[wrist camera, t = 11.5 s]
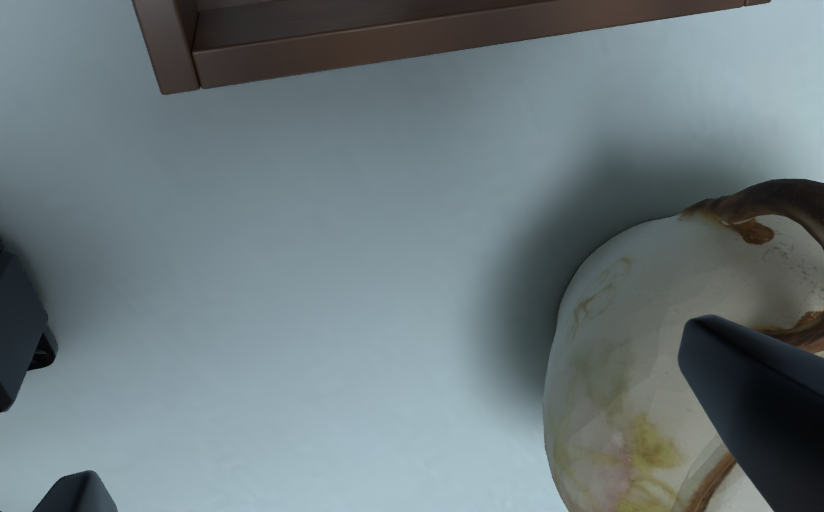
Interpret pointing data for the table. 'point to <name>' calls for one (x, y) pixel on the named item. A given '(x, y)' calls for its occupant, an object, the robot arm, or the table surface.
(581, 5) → the caddy
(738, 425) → the robot arm
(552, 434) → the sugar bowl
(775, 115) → the table surface
